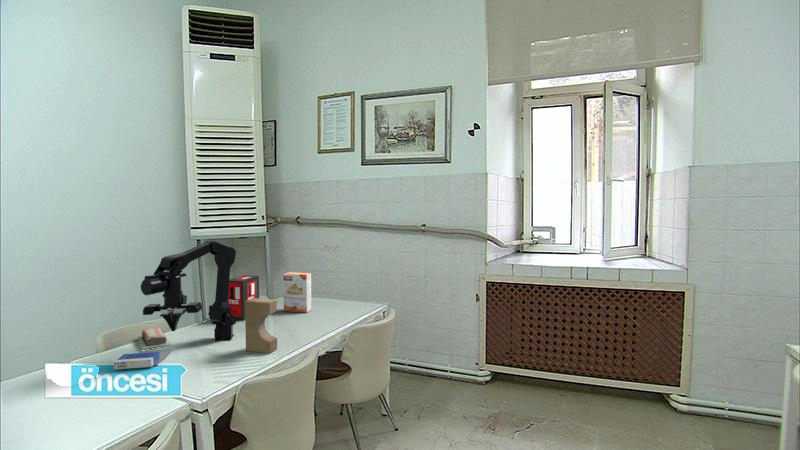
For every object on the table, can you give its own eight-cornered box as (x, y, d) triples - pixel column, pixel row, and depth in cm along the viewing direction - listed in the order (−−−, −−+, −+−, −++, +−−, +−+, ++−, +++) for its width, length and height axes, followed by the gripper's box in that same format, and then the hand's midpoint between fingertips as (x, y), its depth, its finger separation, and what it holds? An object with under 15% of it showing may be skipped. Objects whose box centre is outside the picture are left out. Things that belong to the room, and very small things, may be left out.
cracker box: (283, 311, 218) (282, 273, 217) (289, 308, 224) (288, 271, 223) (306, 313, 214) (306, 274, 213) (311, 310, 220) (311, 272, 219)
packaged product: (136, 329, 171) (163, 325, 177) (136, 340, 171) (163, 336, 177) (141, 340, 157) (170, 335, 163) (142, 352, 157) (170, 346, 163)
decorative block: (277, 349, 159) (277, 299, 159) (269, 354, 154) (268, 302, 153) (254, 346, 163) (253, 297, 162) (245, 351, 157) (244, 300, 156)
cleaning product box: (243, 321, 199) (242, 281, 199) (226, 320, 201) (226, 280, 200) (259, 312, 216) (258, 275, 215) (243, 311, 217) (243, 275, 216)
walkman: (159, 358, 147) (123, 361, 145) (159, 351, 147) (122, 354, 145) (151, 367, 140) (112, 370, 137) (151, 359, 139) (112, 362, 137)
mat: (173, 350, 158) (173, 348, 158) (157, 366, 142) (157, 364, 142) (140, 352, 156) (140, 350, 156) (119, 368, 140) (119, 366, 140)
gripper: (205, 284, 159) (206, 323, 160) (154, 286, 156) (155, 326, 156) (196, 290, 148) (197, 332, 149) (141, 292, 145) (142, 335, 146)
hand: (173, 331), depth 150 cm, fingers closed
